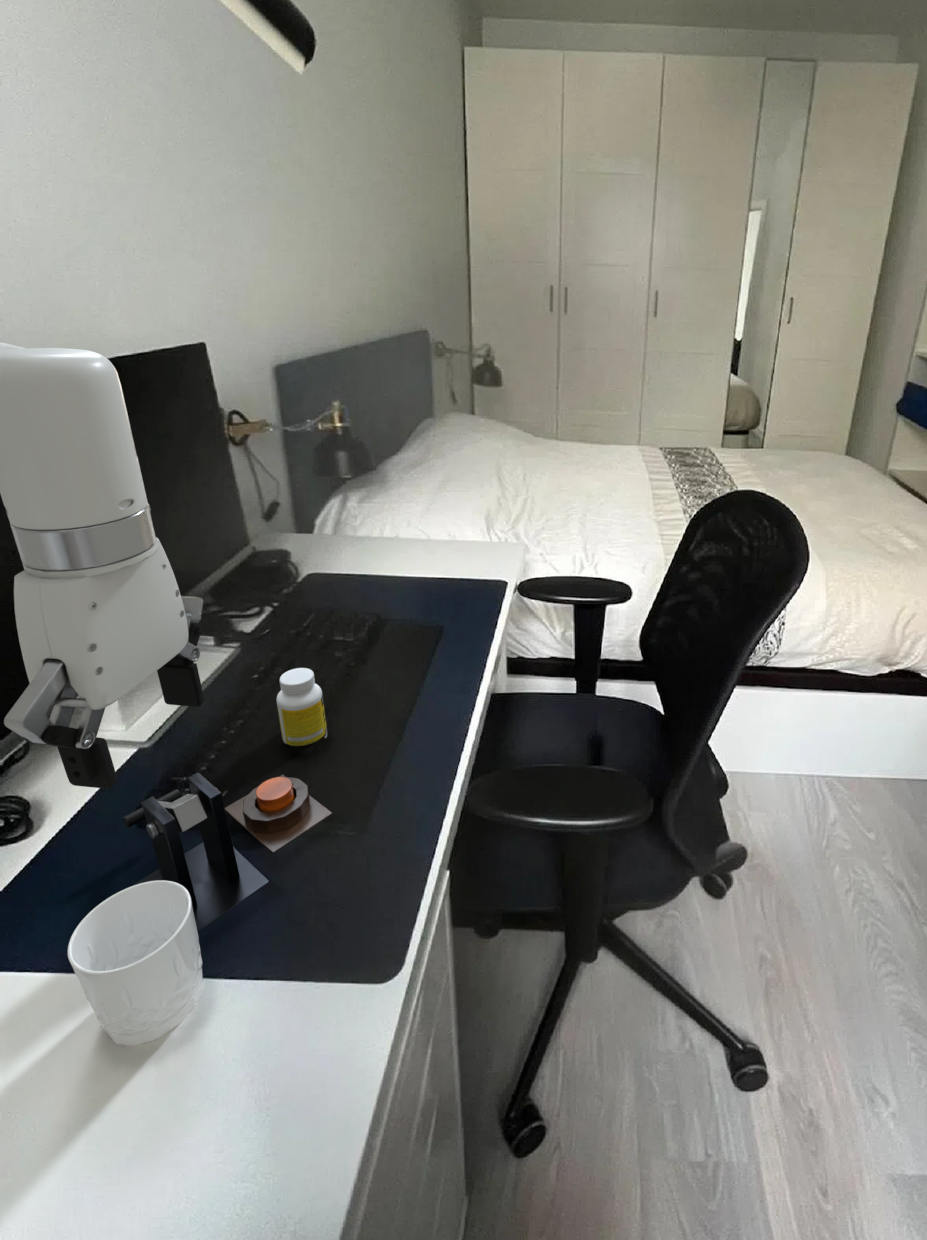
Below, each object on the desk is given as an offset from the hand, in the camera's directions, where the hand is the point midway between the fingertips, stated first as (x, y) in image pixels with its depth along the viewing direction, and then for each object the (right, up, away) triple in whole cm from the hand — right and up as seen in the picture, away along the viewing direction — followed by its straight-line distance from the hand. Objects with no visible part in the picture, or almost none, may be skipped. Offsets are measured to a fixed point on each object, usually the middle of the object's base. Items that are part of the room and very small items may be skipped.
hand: (143, 740), depth 51 cm
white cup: (-1, -23, +3) cm, 23 cm away
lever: (-5, -12, +12) cm, 18 cm away
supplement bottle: (-2, -10, +34) cm, 36 cm away
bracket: (-3, -19, +13) cm, 23 cm away
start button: (0, -13, +21) cm, 25 cm away
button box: (0, -15, +22) cm, 27 cm away
